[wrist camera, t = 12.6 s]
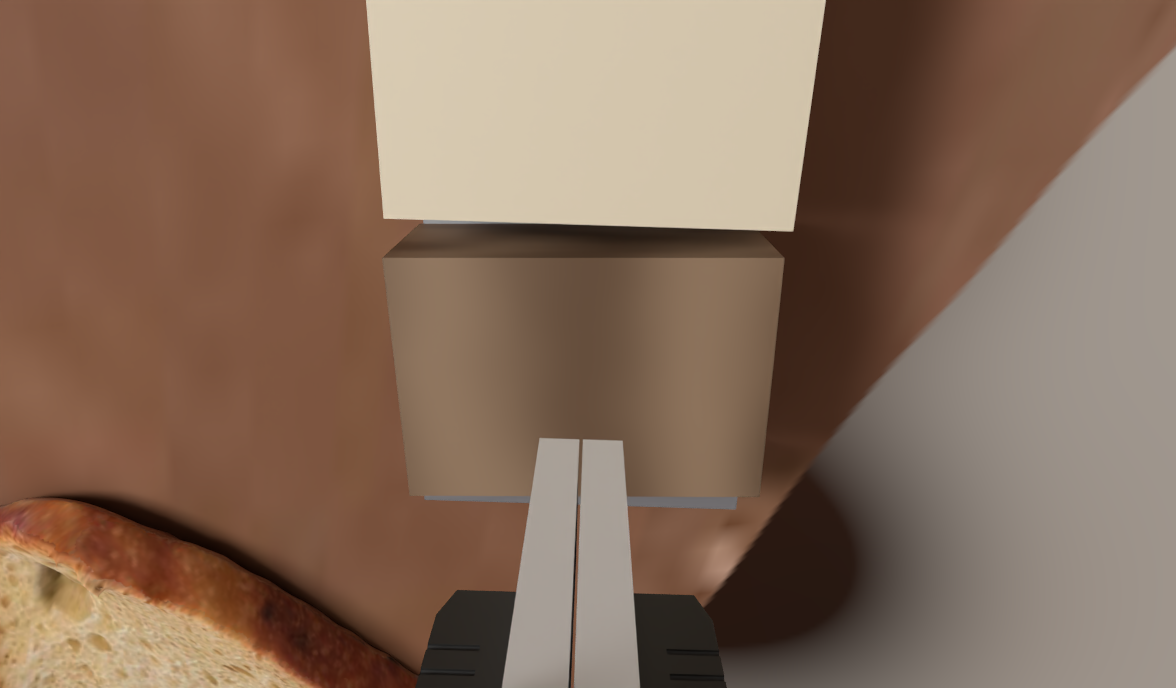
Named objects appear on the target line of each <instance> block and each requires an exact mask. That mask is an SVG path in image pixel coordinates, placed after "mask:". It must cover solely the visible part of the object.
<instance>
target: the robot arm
mask: <svg viewBox="0 0 1176 688" xmlns="http://www.w3.org/2000/svg"><path fill="white" fill-rule="evenodd" d="M578 471H579V439H553V438H540V439H539V445H538V452H537V459H536V465H535V472H534V478H533V485H532V492H531V498H530V505H529V512H528V518H527V525H526V531H525V538H524V545H523V551H522V558H521V564H520V571H519V578H518V584H517V591H516V592H502V591H470V590H457V591H456V592H455V593H454V594H453V596H452V597H451V598H450V599H449V600H448V601H447V603H446V604H445V605H444V606H443V607H442V608H441V610H440V611H439V612H438V613H437V614H436V617H435V621H434V624H433V628H432V631H431V635H430V638H429V642H428V648H427V650H426V652H425V655H424V659H423V662H422V666H421V672H420V675H419V676H418V679H417V683H416V686H415V688H571V668H572V643H573V619H574V595H575V570H576V541H577V506H578ZM574 688H727V687H726V682H724V673H723V668H722V663H721V658H720V656H719V649H718V644H717V639H716V635H715V630H714V625H713V621H712V619H711V618H710V617H709V615H708V614H707V613H706V611H705V610H704V608H703V607H702V606H701V604H700V603H699V602H698V600H697V599H696V598H695V596H694V595H667V594H635V593H633V580H632V566H631V552H630V538H629V523H628V509H627V495H626V481H625V467H624V452H623V441H617V440H585V439H583V450H582V479H581V507H580V535H579V563H578V592H577V620H576V648H575V676H574Z"/></svg>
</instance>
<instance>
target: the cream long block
mask: <svg viewBox="0 0 1176 688" xmlns="http://www.w3.org/2000/svg"><path fill="white" fill-rule="evenodd" d="M825 2H826V0H366V4H367V16H368V29H369V41H370V54H371V66H372V79H373V92H374V104H375V117H376V129H377V142H378V154H379V167H380V179H381V192H382V204H383V217H384V218H386V219H417V220H423V222H424V224H575V225H606V226H638V227H669V228H701V229H732V230H764V231H793V229H794V222H795V215H796V208H797V201H798V194H799V187H800V180H801V173H802V166H803V158H804V151H805V144H806V137H807V130H808V123H809V116H810V109H811V102H812V95H813V88H814V80H815V73H816V66H817V59H818V52H819V45H820V38H821V31H822V24H823V17H824V10H825ZM530 498H531V496H425V500H452V501H484V502H516V503H530ZM578 504H580V505H581V496H578ZM736 504H737V497H627V506H644V507H676V508H708V509H736Z"/></svg>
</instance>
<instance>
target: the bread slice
mask: <svg viewBox="0 0 1176 688" xmlns="http://www.w3.org/2000/svg"><path fill="white" fill-rule="evenodd" d="M417 679H418V675H416V674H414V673H412V672H410V671H409V670H407V669H406V668H404V667H403V666H402V665H401V664H400V663H398V662H397V661H396V660H395V659H394V658H393V657H391V656H390V655H388V654H386V653H384V652H382V651H380V650H378V649H375V648H374V647H372V646H370V645H369V644H367V643H366V642H365V641H364V640H362V639H361V638H360V637H359V636H357V635H356V634H355V633H353V632H352V631H350V630H348V629H346V628H343V627H341V626H339V625H338V624H336V623H335V622H333V621H332V620H331V619H329V618H328V617H327V616H326V615H324V614H323V613H322V612H320V611H319V610H317V609H316V608H314V607H313V606H311V605H309V604H308V603H306V602H304V601H302V600H300V599H298V598H296V597H294V596H292V595H290V594H289V593H287V592H285V591H284V590H282V589H281V588H279V587H278V586H277V585H275V584H274V583H272V582H271V581H269V580H267V579H265V578H263V577H260V576H258V575H256V574H253V573H251V572H249V571H248V570H246V569H244V568H242V567H241V566H239V565H238V564H236V563H235V562H233V561H232V560H230V559H229V558H227V557H225V556H223V555H221V554H219V553H216V552H214V551H211V550H208V549H206V548H203V547H201V546H198V545H196V544H193V543H190V542H186V541H182V540H179V539H178V538H177V537H175V536H174V535H172V534H170V533H167V532H164V531H160V530H156V529H153V528H149V527H146V526H143V525H141V524H139V523H136V522H134V521H132V520H129V519H127V518H125V517H123V516H121V515H118V514H116V513H113V512H111V511H108V510H106V509H103V508H100V507H97V506H94V505H91V504H88V503H85V502H80V501H76V500H69V499H62V498H44V497H43V498H26V499H22V500H19V501H16V502H14V503H11V504H8V505H5V506H0V688H415V686H416V683H417Z"/></svg>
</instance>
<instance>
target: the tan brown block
mask: <svg viewBox="0 0 1176 688" xmlns="http://www.w3.org/2000/svg"><path fill="white" fill-rule="evenodd" d="M784 259H785V258H784V257H783V256H782V255H781V254H780V253H779V252H778V251H777V250H776V249H775V248H774V246H773V245H772V244H771V243H770V242H769V241H768V240H767V239H766V238H765V237H764V236H763V235H762V234H761V233H760V232H759V231H758V230H732V229H701V228H669V227H638V226H606V225H575V224H419V225H418V226H417V227H416V228H415V229H413V230H412V231H411V232H410V233H409V234H408V235H407V236H406V237H405V238H404V239H402V240H401V241H400V242H399V243H398V244H397V245H396V246H395V247H394V248H393V249H391V250H390V251H389V252H388V253H387V254H386V255H385V256H384V257H383V258H382V260H383V269H384V277H385V286H386V295H387V303H388V312H389V321H390V329H391V338H392V347H393V355H394V364H395V373H396V381H397V390H398V399H399V407H400V416H401V425H402V433H403V442H404V450H405V459H406V468H407V476H408V485H409V494H410V496H531V492H532V485H533V478H534V472H535V465H536V459H537V452H538V445H539V439H540V438H553V439H579V471H578V496H581V479H582V450H583V439H585V440H617V441H623V452H624V467H625V481H626V495H627V497H760V488H761V478H762V469H763V459H764V450H765V440H766V431H767V421H768V411H769V402H770V392H771V383H772V373H773V364H774V354H775V345H776V335H777V326H778V316H779V307H780V297H781V288H782V278H783V269H784Z"/></svg>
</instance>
